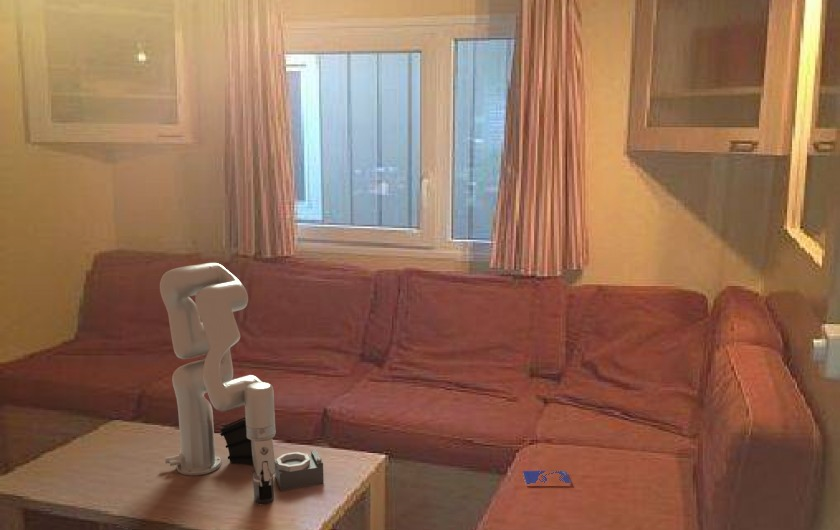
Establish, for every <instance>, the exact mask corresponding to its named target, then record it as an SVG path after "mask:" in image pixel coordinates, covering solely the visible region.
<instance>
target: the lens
mask: <svg viewBox="0 0 840 530" xmlns="http://www.w3.org/2000/svg"><path fill="white" fill-rule="evenodd" d="M261 474H263V472H261ZM262 479H264V477H262ZM270 480H271V489H272V498H271V499H266V500H260V499H259V485H260V482H259V476H257V474H256V471H255V469H254V471H253V472H252V481H253V483H252V484H253V502H254V503H255V504H256V505H260V504H261V505H262V506H263V505H268V504H269V505H270V504H271V503H273V501H275V490H274V474H271V472H270Z"/></svg>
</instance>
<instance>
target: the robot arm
mask: <svg viewBox="0 0 840 530" xmlns="http://www.w3.org/2000/svg"><path fill="white" fill-rule="evenodd" d="M159 292H160V296H161V299H162V301H163V304H164V306H165V309H166V311H167V315H168V322H169V330H170V336H171V342H172V347H173V351H174V354H175V355H176V357H177V358H178V359H182V360H187V359H194V358H198V357H201V356H205V355H206V356H205V358H204V359H199V360H195V361H191V362H188V363H185V364H182V365H181V366H179V367H178V368H176V369H175V370H174V371H173V373H172V378H171V381H172V386H173V389H174V394H175V399H176V404H177V411H178V414H177V415H178V426H179V441H180V450H179V453H178V454H176V455H174V456H173V455H172V456H171V455H170V456H165V457H164V460H165V461H164V462H165V465H167V464H169V466H176V471H177V473H179V474H181V475H185V476H202V475H206V474H207V475H208V474H209V473H213V472H214V471H216V470H218V468H220V467H221V465H222V459H221V457H220V456H219V455H216V446H215V445H216V442H215V432H214V431H215V430H214V414H213V412H214V411H213V408H214V409H215V410H217V411H219V412H228V411H231V410H234V409H237V408H241V407H243V406H244V414H245V416H244V417H245V418H246V437H247V438H248V439H250V440H251V448H252V459H253V464H254V465H253V467H254V470H255V471H256V474H257V476H259V482H260V485H259V499H260V500H266V499H271V498H272V489H271V480H270V472H271V474H273V475H275V472H276V471H275V460H276V459H275V449H274V441H273V438H274V437H275V436H276V417H275V416H276V414H275V394H274V393H275V390H274V387H273V385H272V384H271V383H269V382H264V381H262V380H261V379H260V378H259V377H257V376H256V375H253V374H247V375H243V376H240V377H237V378H236V377H235V378H233V377H234V367H233V361H232V360H233V359H232V353H231V347H234V346H235V344H237V343H238V342H239V341H240V339H241V333H240V330H239V326H238V324H237V320H236V318H235V315H234V312H237V311H241V310H244V309H245V308H246V307H247V306H248V302H249V294H248V292H247V289H246V287H245V286H244V284H243V283H242V282H241V281H240V280H239V279H238V277H236V276H235V275H234V274H233V273H232V272H230V271H229V270H228V269H226V267H224V266H223V265H222V264H220V263H217V262H207V263H206V262H205V263H198V264H193V265H187V266H185V265H184V266H180V267H176V268H172V269H170V270H168V271H166V272H165V273H163V275H162V277H161V279H160V282H159ZM193 296H195V298H194V300H195V301H194V300H193V299H192V298H191V297H193ZM206 393H207V396H208V399H209V400H208V399H207V398H206V397H205V394H206ZM261 472H263V474H261ZM262 477H264V479H262Z"/></svg>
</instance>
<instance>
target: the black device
mask: <svg viewBox="0 0 840 530" xmlns="http://www.w3.org/2000/svg"><path fill="white" fill-rule="evenodd" d="M220 432H221V433H220V437H223V438H224V440H225V443H226V445H225V449H227V450H228V453H229V454H228V456H227V460H229V464H236V465H247V466H248V465H249V466H254V464H253V459H252V448H251V440H250V439H248V438H247V437H246V418H245V416H244V417H242V418H240V419H237V420H235V421H232V422H229V423H227V424H226V425H224V426H222V427H221V428H220Z"/></svg>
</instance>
